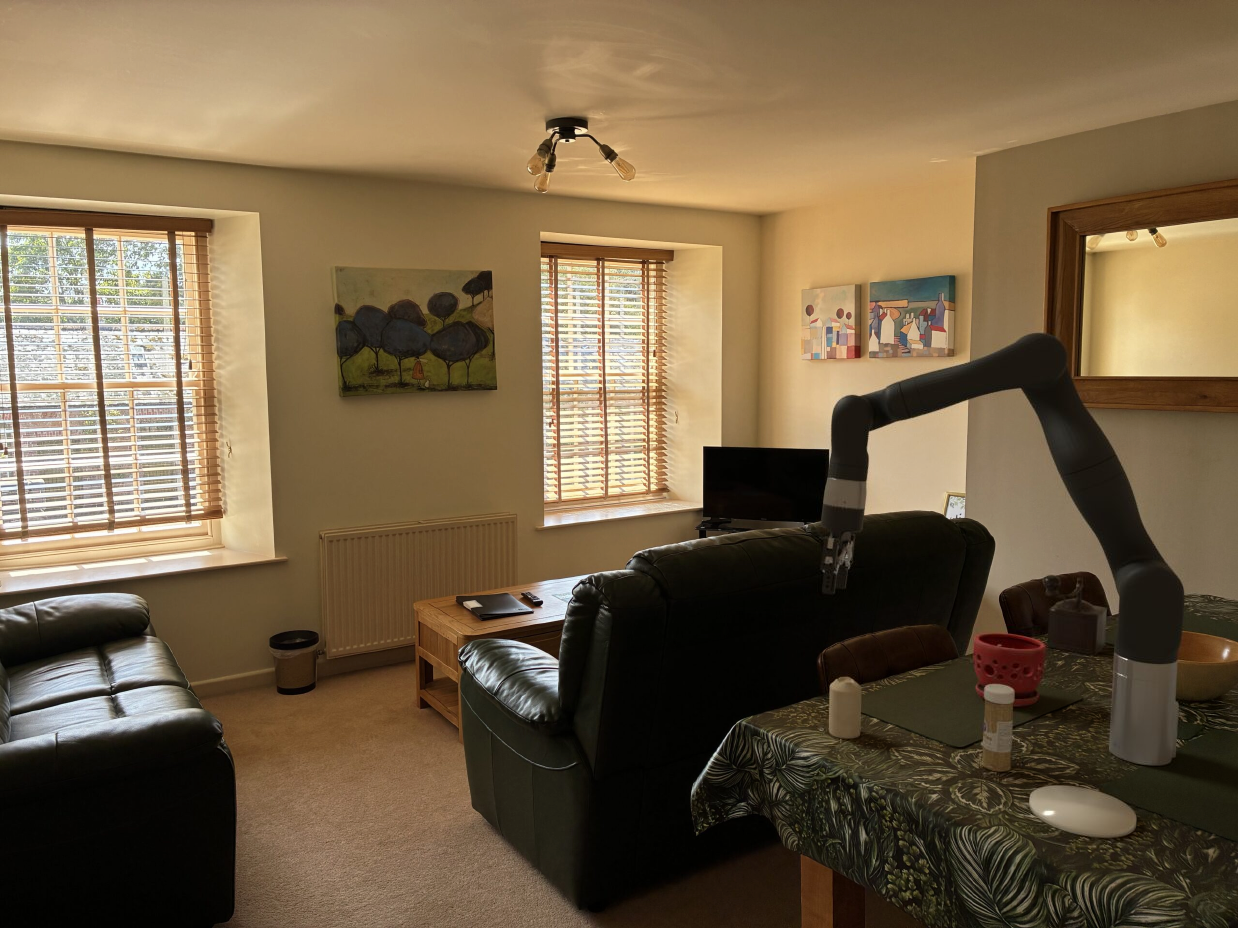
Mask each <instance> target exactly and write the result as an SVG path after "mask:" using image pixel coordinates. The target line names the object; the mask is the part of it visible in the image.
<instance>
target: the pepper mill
mask: <svg viewBox="0 0 1238 928" xmlns="http://www.w3.org/2000/svg"><path fill="white" fill-rule="evenodd" d="M1076 581H1077V583H1076V586H1075V587H1076V588H1075V589H1074V590H1073V591H1072V592H1071V593H1069V594H1060V592H1059V591H1058V588H1059V587H1060V585H1061V582H1062V581H1061V579H1060V577H1059V576H1057V575H1054V574H1048V575H1046V576H1044V577H1043V578H1042V583H1043V586H1044V587H1045V595H1046V596H1048V597H1052V598H1053V597H1054V598H1058V599H1062V600H1061V601H1057V602H1055V604H1054V605H1053V606H1051V607H1050V608H1049V609H1048V625H1047V626H1048V627H1047V643H1046V646H1047V647H1048V648H1051V649H1054V650H1058V651H1062V652H1063V651H1064V652H1069V653H1074V654H1080V655H1085V656H1092V657H1093V656H1096V655H1097V654H1099V652H1101V651H1100V650H1102V649H1103V648H1104V647H1105V646H1106V630H1107V629H1106V626H1107V611H1108V609H1107V607H1103V606H1098V605H1093V604H1091V603H1090V602H1089V601H1086V600H1083V599H1082V589H1083V588H1084V584H1083V582H1084V579H1083V578H1082V577H1078V578H1076ZM1075 596H1076V597H1075ZM1074 597H1075V598H1074ZM1047 647H1046V648H1047ZM1095 654H1096V655H1095Z"/></svg>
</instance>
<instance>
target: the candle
mask: <svg viewBox="0 0 1238 928" xmlns="http://www.w3.org/2000/svg"><path fill="white" fill-rule="evenodd" d="M828 703H829V704H828V705H829V708H828V713H829V714H828V716H829V717H828V732H829V734H830V735H831V736H834V737H836V738H840V739H847V740H848V739H856V738H859V736H860V735H861V727H862V725H861V724H862V723H861V721H862V720H861V719H862V718H861V717H862V687H861V685H860V684H859V683H857V681H855V680H854V679H853V678H851V677H850V676H840V677H839V678H836V679H835V680H834V681H833V682H831V683H830V685H829V702H828Z"/></svg>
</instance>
